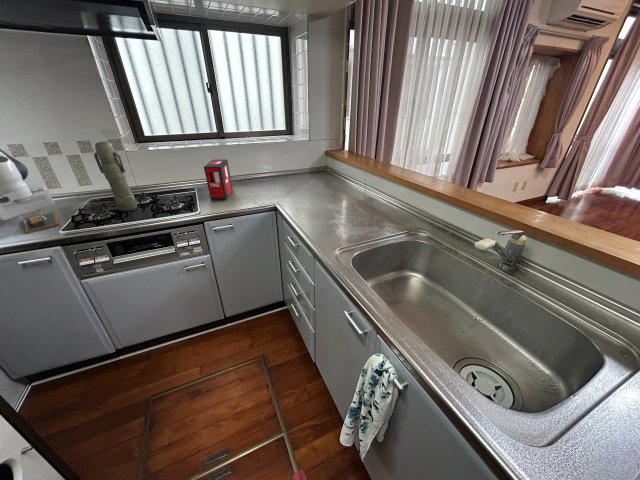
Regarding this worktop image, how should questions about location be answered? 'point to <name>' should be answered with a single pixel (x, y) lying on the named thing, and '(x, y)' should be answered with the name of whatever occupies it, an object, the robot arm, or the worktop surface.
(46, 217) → the board
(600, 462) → the worktop surface
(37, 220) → the eraser
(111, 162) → the thermos
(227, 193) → the cleaning product box
